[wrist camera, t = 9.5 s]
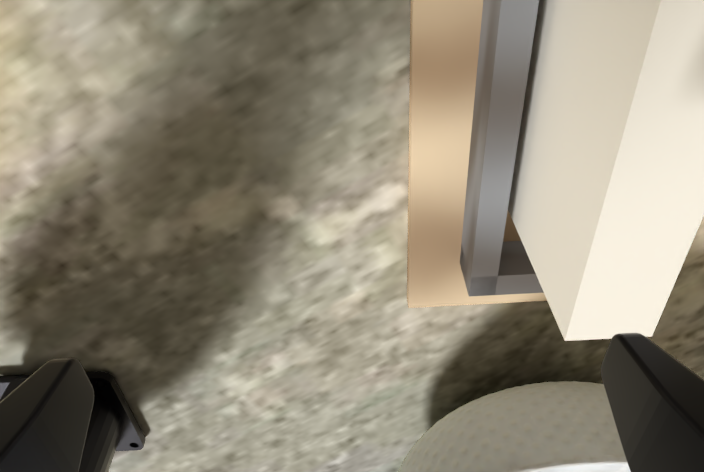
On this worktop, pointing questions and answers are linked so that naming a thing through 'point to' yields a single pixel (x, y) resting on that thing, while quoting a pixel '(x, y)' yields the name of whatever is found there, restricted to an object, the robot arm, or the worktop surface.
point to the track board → (467, 151)
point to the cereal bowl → (525, 433)
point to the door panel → (611, 159)
